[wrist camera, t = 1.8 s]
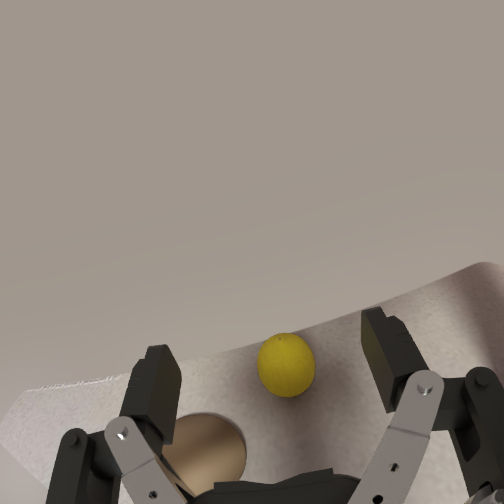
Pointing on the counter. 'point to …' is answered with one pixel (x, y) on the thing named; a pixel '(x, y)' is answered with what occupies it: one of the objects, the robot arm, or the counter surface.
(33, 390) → the counter surface
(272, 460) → the counter surface
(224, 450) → the walnut board
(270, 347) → the lemon
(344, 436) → the counter surface
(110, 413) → the counter surface
